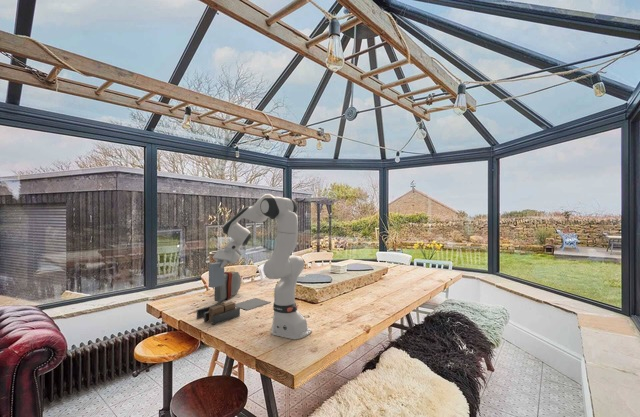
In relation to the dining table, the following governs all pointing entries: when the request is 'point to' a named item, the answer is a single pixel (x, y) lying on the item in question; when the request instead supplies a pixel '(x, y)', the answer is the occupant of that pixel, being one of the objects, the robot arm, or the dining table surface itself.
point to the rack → (218, 317)
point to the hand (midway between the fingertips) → (217, 266)
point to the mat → (251, 303)
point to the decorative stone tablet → (228, 286)
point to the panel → (216, 275)
